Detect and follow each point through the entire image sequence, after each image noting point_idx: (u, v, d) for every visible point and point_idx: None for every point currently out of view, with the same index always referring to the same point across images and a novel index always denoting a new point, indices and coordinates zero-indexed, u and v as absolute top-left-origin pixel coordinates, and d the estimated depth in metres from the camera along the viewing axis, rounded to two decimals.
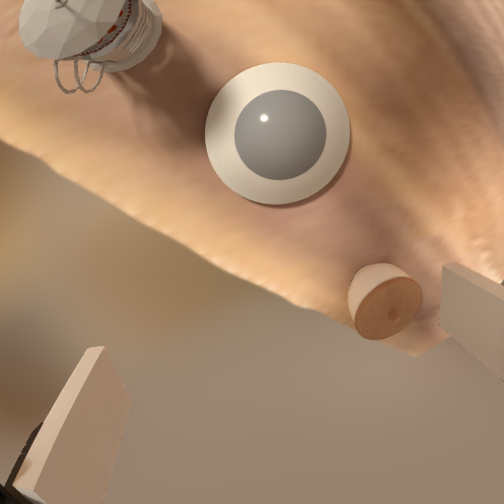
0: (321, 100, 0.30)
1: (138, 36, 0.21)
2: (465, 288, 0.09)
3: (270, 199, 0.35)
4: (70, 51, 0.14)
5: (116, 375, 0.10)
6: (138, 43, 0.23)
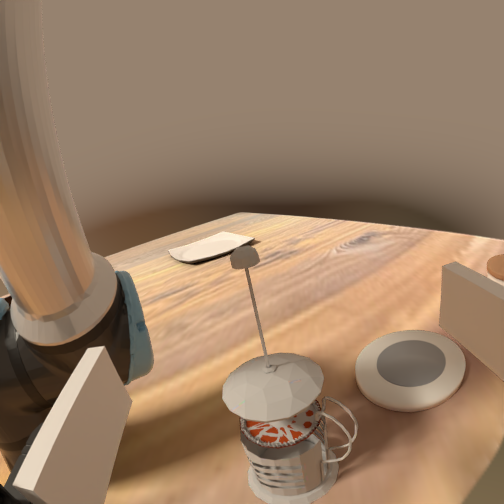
0: (383, 345, 0.42)
1: None
2: (465, 288, 0.09)
3: (461, 361, 0.33)
4: (319, 379, 0.22)
5: (116, 375, 0.10)
6: (319, 435, 0.28)
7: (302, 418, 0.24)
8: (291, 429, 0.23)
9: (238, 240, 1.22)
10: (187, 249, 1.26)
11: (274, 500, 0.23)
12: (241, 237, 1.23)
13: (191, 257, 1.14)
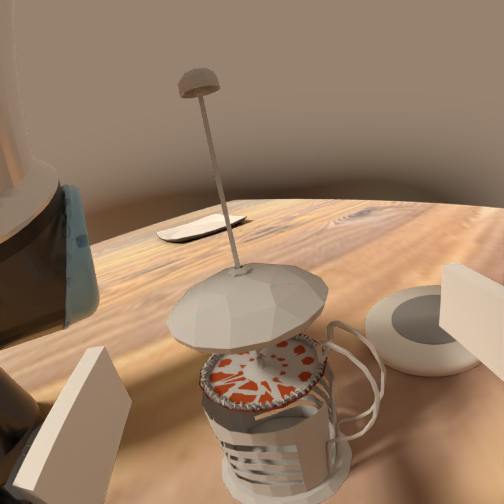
0: (396, 302, 0.34)
1: (315, 387, 0.20)
2: (465, 288, 0.09)
3: None
4: (320, 288, 0.14)
5: (116, 375, 0.10)
6: None
7: (297, 367, 0.16)
8: (279, 383, 0.15)
9: (230, 220, 1.15)
10: (176, 231, 1.18)
11: (258, 502, 0.15)
12: (233, 217, 1.16)
13: (179, 237, 1.06)
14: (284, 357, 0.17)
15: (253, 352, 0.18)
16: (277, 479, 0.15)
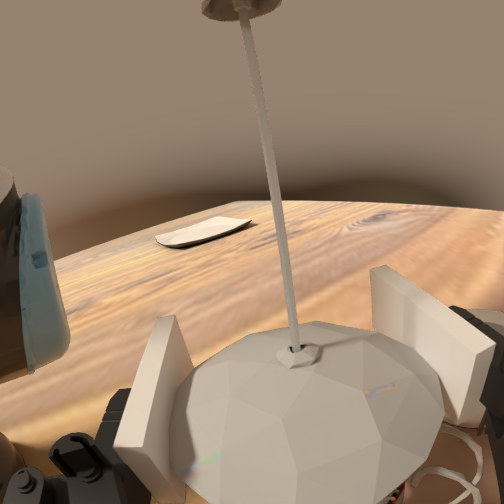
0: None
1: None
2: (387, 291, 0.11)
3: None
4: (431, 380, 0.07)
5: (184, 343, 0.12)
6: None
7: None
8: None
9: (233, 224, 1.07)
10: (176, 235, 1.10)
11: None
12: (237, 220, 1.08)
13: (179, 242, 0.99)
14: None
15: None
16: None
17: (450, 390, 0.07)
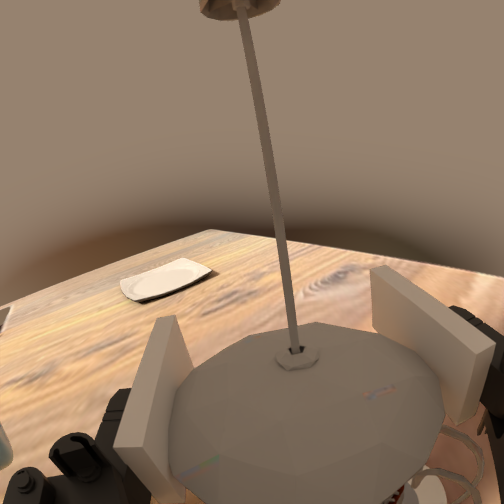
0: None
1: None
2: (387, 291, 0.11)
3: None
4: (432, 382, 0.07)
5: (184, 343, 0.12)
6: None
7: None
8: None
9: (195, 271, 1.05)
10: (140, 279, 1.07)
11: None
12: (199, 267, 1.06)
13: (141, 292, 0.96)
14: None
15: None
16: None
17: (450, 390, 0.07)
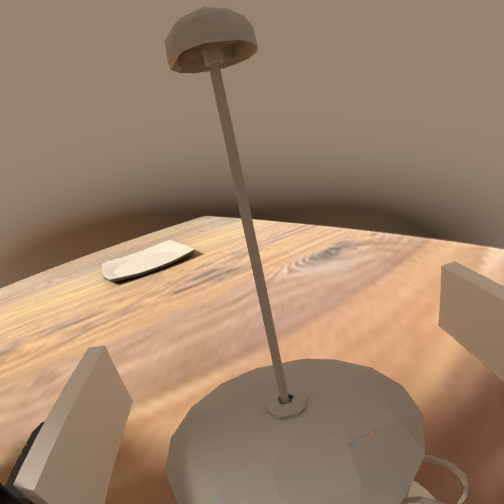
0: None
1: None
2: (464, 288, 0.09)
3: None
4: (415, 420, 0.07)
5: (117, 375, 0.10)
6: None
7: None
8: None
9: (179, 252, 0.97)
10: (123, 262, 1.00)
11: None
12: (184, 248, 0.98)
13: (120, 273, 0.89)
14: None
15: None
16: None
17: None
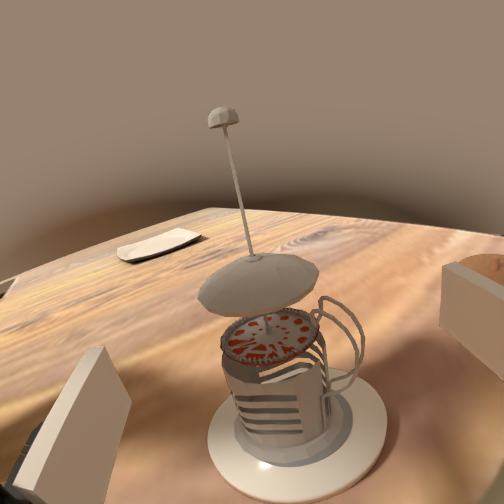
0: None
1: (311, 356, 0.25)
2: (464, 288, 0.09)
3: (378, 433, 0.21)
4: (313, 271, 0.20)
5: (116, 375, 0.10)
6: None
7: (296, 334, 0.22)
8: (283, 345, 0.20)
9: (187, 237, 1.10)
10: (137, 247, 1.13)
11: (265, 453, 0.21)
12: (191, 234, 1.11)
13: (135, 256, 1.02)
14: (286, 327, 0.23)
15: (261, 324, 0.24)
16: (281, 428, 0.20)
17: None
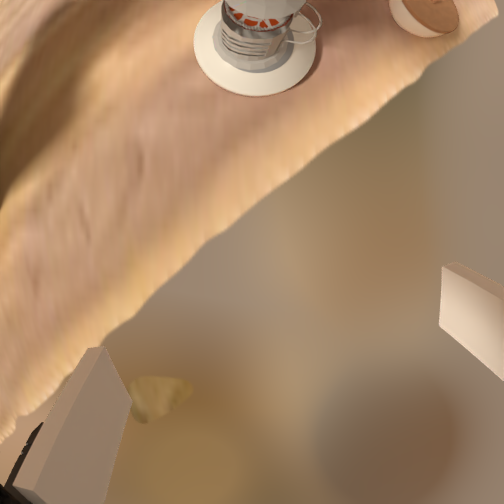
0: None
1: None
2: (465, 288, 0.09)
3: (308, 60, 0.35)
4: None
5: (116, 375, 0.10)
6: None
7: None
8: None
9: None
10: None
11: (238, 63, 0.34)
12: None
13: None
14: None
15: None
16: (254, 54, 0.31)
17: None
